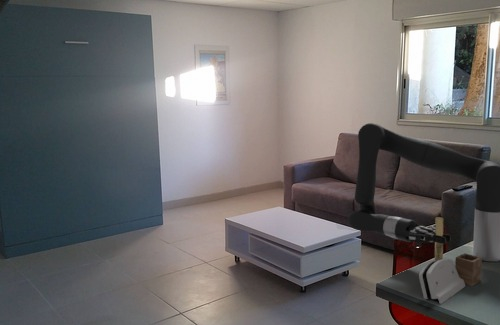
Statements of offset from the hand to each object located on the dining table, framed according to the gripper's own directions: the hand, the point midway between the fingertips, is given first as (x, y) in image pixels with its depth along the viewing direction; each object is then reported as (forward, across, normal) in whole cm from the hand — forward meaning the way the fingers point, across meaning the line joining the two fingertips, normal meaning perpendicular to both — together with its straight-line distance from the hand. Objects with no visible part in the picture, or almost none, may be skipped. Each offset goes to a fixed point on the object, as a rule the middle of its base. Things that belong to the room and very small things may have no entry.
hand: (447, 239), depth 144 cm
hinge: (+5, -12, +12) cm, 18 cm away
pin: (-3, 0, +8) cm, 9 cm away
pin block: (+7, 0, +12) cm, 13 cm away
